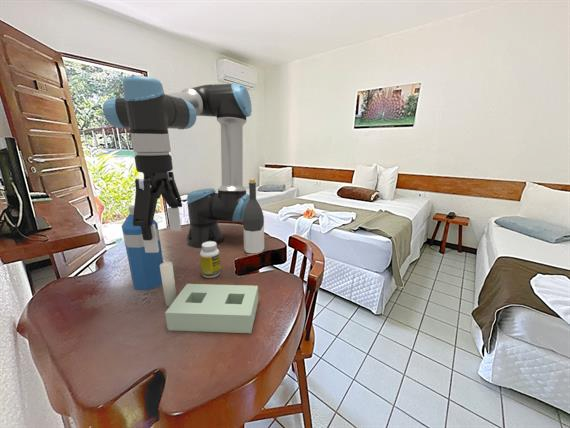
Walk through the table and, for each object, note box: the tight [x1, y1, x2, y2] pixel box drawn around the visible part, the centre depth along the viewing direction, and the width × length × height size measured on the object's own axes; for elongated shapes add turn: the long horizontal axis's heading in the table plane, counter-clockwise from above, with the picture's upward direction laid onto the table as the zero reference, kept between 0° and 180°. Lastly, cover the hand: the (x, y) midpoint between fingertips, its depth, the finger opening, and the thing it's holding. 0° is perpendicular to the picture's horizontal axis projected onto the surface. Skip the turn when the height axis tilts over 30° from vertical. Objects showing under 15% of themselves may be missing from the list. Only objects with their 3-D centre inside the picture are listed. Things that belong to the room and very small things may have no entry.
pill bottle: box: [199, 241, 222, 279], centre depth 81 cm, size 6×6×11 cm
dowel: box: [160, 261, 178, 308], centre depth 66 cm, size 3×3×12 cm
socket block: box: [164, 283, 259, 334], centre depth 63 cm, size 12×20×5 cm, turn 88°
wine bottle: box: [242, 178, 265, 255], centre depth 94 cm, size 8×8×30 cm
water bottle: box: [121, 204, 164, 291], centre depth 74 cm, size 9×9×25 cm
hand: (165, 240), depth 62 cm, fingers open, 13 cm apart
